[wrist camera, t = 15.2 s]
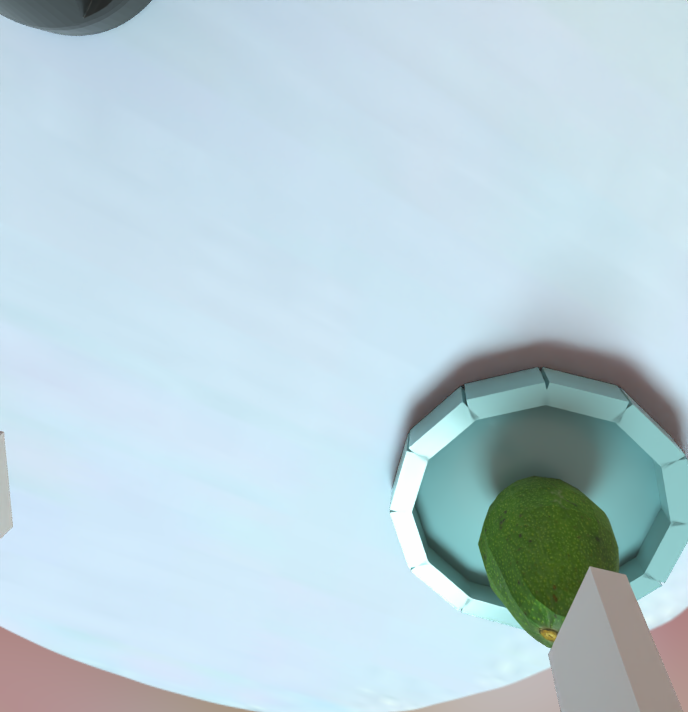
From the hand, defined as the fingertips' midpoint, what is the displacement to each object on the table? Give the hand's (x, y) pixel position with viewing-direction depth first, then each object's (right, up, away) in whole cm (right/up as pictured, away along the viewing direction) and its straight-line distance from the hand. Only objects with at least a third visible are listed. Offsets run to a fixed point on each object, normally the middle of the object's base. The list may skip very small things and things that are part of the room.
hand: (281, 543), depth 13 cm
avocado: (+15, -6, +27) cm, 31 cm away
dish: (+15, -6, +28) cm, 32 cm away
